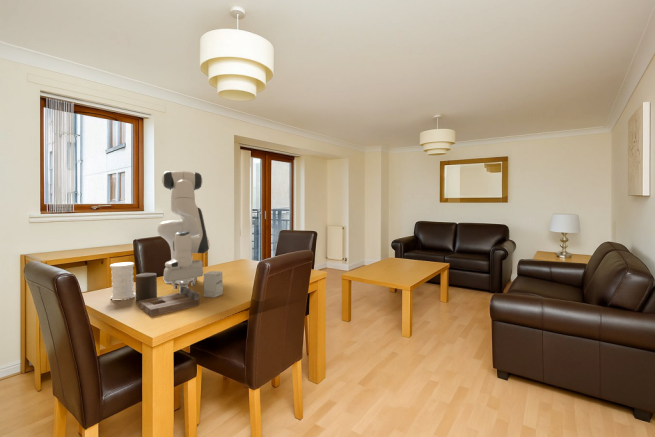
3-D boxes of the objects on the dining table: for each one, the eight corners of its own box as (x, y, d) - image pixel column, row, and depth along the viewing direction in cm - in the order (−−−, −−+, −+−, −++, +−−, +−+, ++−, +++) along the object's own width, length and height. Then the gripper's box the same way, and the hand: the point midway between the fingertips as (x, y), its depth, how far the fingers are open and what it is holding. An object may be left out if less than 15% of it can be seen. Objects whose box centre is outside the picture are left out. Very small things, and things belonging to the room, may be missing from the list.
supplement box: (216, 297, 178) (215, 274, 177) (203, 296, 179) (203, 273, 178) (223, 293, 185) (222, 271, 184) (211, 293, 186) (210, 270, 186)
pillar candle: (145, 304, 166) (145, 274, 165) (131, 302, 169) (130, 273, 168) (161, 299, 175) (161, 271, 174) (147, 297, 178) (147, 269, 177)
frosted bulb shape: (176, 295, 180) (175, 281, 180) (187, 293, 185) (186, 279, 184) (180, 298, 176) (180, 283, 176) (191, 295, 180) (191, 281, 180)
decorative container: (136, 298, 176) (135, 264, 175) (110, 302, 170) (109, 267, 169) (135, 293, 186) (134, 261, 185) (110, 296, 179) (109, 263, 178)
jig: (138, 306, 162) (138, 294, 162) (184, 297, 178) (184, 286, 177) (151, 316, 149) (150, 303, 149) (199, 305, 165) (198, 293, 165)
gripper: (199, 258, 189) (200, 282, 190) (161, 263, 174) (162, 289, 175) (204, 259, 184) (205, 284, 185) (166, 265, 170) (167, 291, 171)
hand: (184, 287), depth 180 cm, fingers open, 8 cm apart
